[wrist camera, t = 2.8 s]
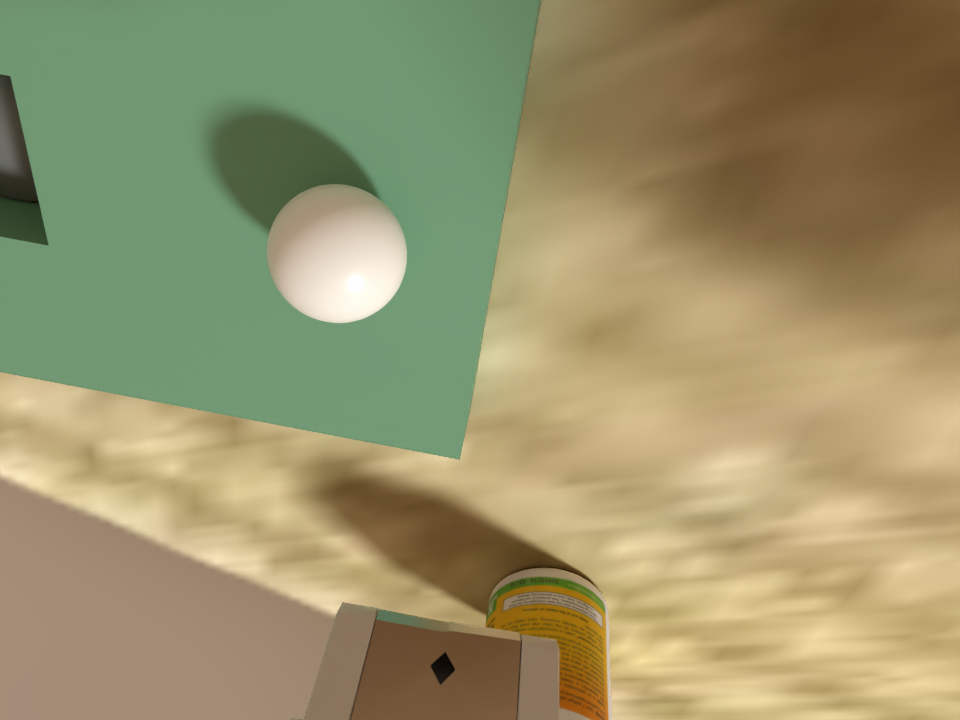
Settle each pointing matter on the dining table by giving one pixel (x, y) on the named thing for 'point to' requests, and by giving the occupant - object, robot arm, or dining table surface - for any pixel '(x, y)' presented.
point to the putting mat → (254, 199)
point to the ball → (336, 253)
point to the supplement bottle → (562, 633)
